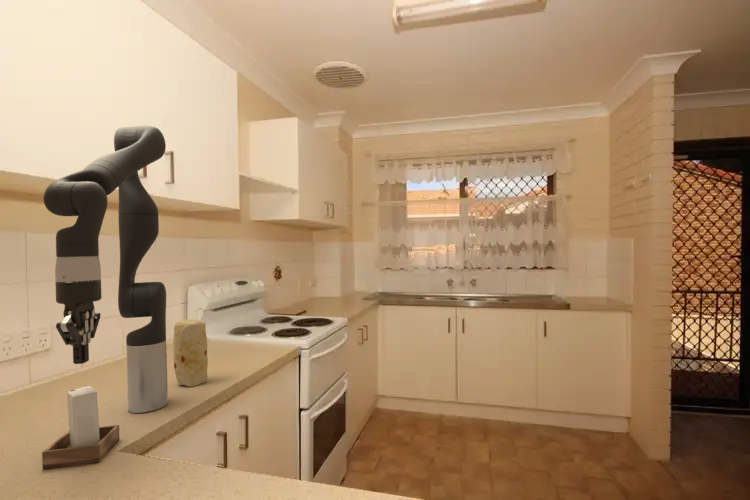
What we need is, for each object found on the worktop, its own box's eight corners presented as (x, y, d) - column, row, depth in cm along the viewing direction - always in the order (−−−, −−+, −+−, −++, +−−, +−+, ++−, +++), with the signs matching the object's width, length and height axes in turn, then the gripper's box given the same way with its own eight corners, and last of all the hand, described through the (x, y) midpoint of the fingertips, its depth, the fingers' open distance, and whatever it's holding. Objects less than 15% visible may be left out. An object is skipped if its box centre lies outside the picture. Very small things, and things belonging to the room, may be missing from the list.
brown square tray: (69, 445, 85) (69, 430, 85) (119, 439, 87) (119, 424, 87) (42, 469, 76) (42, 452, 76) (98, 462, 78) (98, 445, 78)
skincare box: (101, 449, 81) (99, 391, 81) (74, 458, 78) (72, 397, 78) (93, 440, 86) (92, 384, 86) (68, 448, 82) (66, 390, 82)
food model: (209, 379, 127) (208, 317, 127) (206, 386, 121) (204, 320, 121) (176, 382, 125) (175, 319, 125) (171, 389, 119) (169, 323, 119)
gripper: (75, 277, 87) (77, 356, 87) (37, 282, 74) (40, 374, 74) (113, 276, 89) (115, 353, 89) (83, 280, 76) (85, 370, 76)
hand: (81, 362), depth 82 cm, fingers closed
